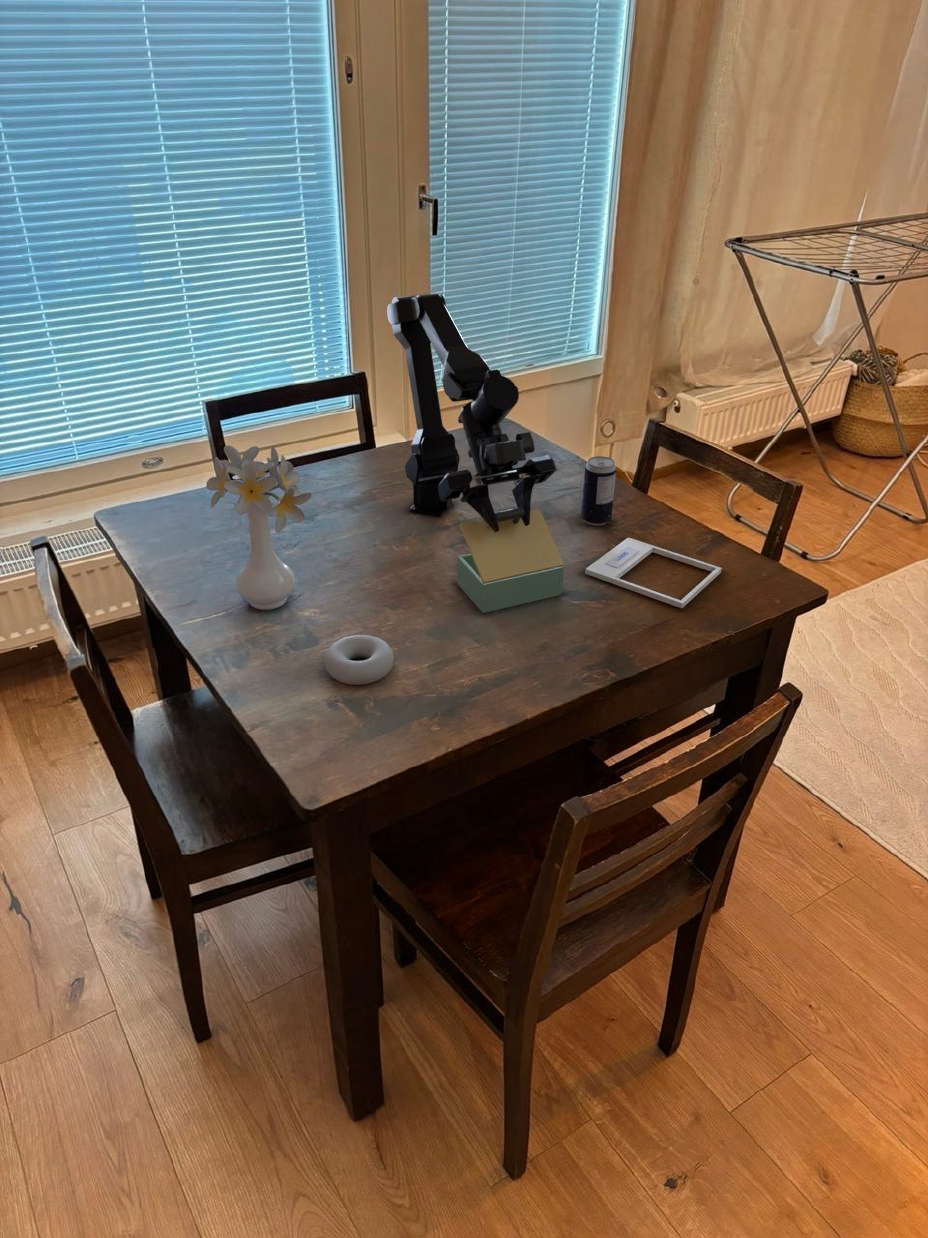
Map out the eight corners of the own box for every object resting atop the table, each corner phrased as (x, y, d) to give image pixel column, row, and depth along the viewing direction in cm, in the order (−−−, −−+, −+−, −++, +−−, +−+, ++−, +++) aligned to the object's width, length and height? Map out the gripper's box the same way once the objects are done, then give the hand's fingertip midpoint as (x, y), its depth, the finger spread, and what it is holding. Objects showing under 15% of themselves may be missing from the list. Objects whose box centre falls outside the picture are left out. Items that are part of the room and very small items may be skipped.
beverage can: (610, 514, 175) (616, 455, 169) (611, 528, 170) (617, 468, 164) (580, 513, 176) (585, 454, 169) (580, 526, 171) (585, 466, 164)
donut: (393, 648, 137) (326, 650, 136) (393, 629, 135) (324, 630, 135) (395, 688, 129) (323, 691, 128) (394, 668, 127) (321, 670, 126)
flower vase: (286, 637, 139) (268, 485, 126) (203, 600, 148) (178, 454, 135) (343, 600, 148) (332, 455, 135) (261, 568, 157) (243, 428, 144)
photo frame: (628, 536, 165) (721, 566, 156) (627, 541, 166) (720, 572, 156) (585, 567, 155) (682, 602, 146) (585, 573, 156) (681, 608, 147)
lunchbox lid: (459, 525, 146) (465, 511, 143) (538, 510, 151) (546, 496, 148) (482, 584, 143) (489, 571, 139) (563, 566, 148) (571, 553, 144)
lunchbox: (457, 583, 153) (457, 556, 150) (532, 566, 158) (534, 539, 155) (482, 613, 145) (483, 585, 143) (561, 594, 150) (563, 567, 147)
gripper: (445, 424, 137) (474, 522, 134) (555, 407, 143) (585, 501, 141) (425, 453, 147) (452, 545, 145) (529, 436, 153) (556, 524, 151)
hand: (512, 528), depth 145 cm, fingers closed on lunchbox lid, 5 cm apart
